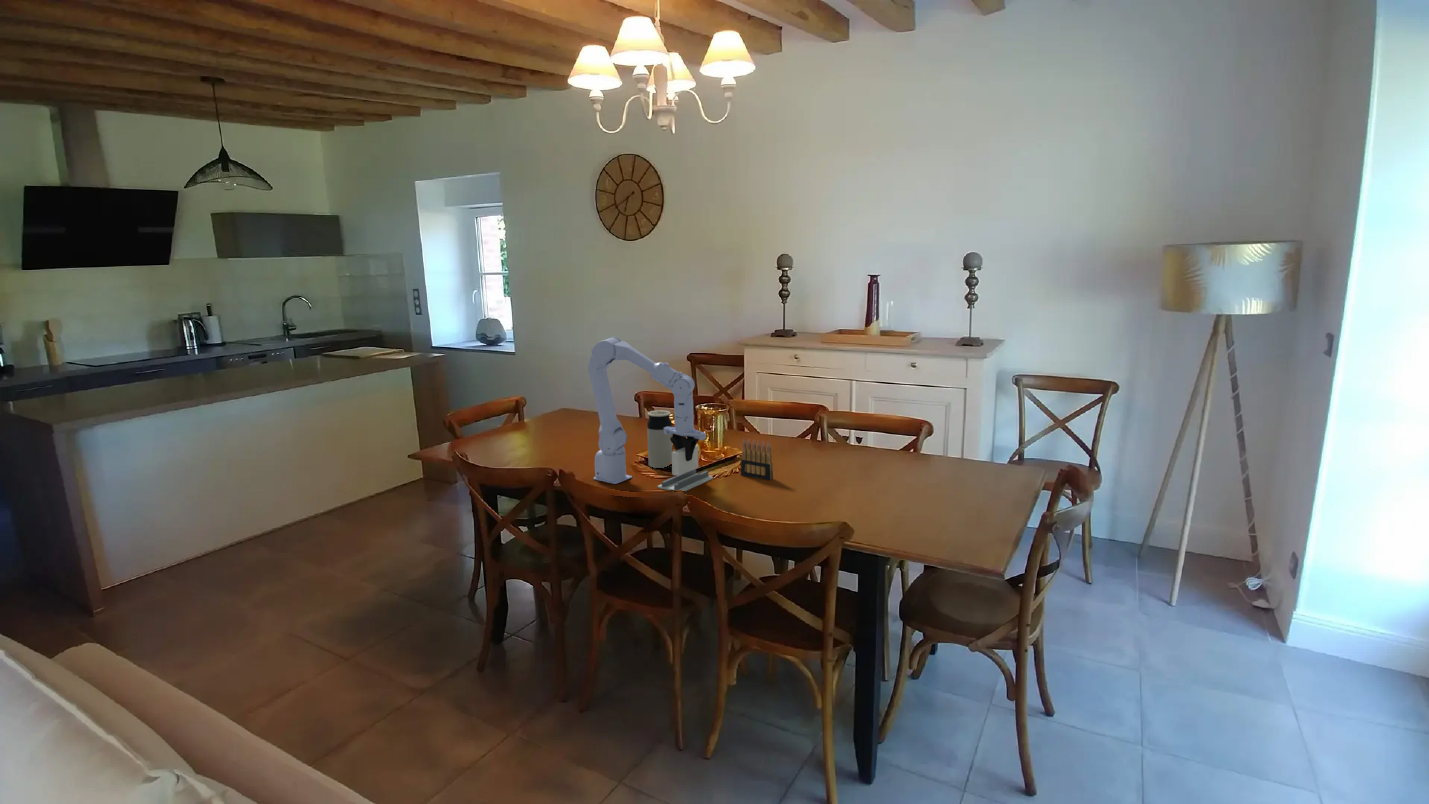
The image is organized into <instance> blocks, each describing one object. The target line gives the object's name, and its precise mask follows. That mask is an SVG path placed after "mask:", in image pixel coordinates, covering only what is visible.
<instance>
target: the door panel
mask: <svg viewBox="0 0 1429 804" xmlns="http://www.w3.org/2000/svg"><path fill="white" fill-rule="evenodd" d="M694 469H696V470H697V469H699V445H697V444H696V446H695V449H694V452H693V456H692V460H690V461H686V457H685V447H684V448H681V449H679V450H673V451H672V466H671V475H672V476H680V475H682V474H684V473H687V472H689V471H691V470H694Z"/></svg>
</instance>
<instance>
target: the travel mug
mask: <svg viewBox="0 0 1429 804" xmlns="http://www.w3.org/2000/svg"><path fill="white" fill-rule="evenodd" d="M671 414H672V413H671V411H669V410H665V409H664V410H661V409H659V410H658V409H657V410H650V411H648V412H647V415H648V420H647V424H646V427H647V453H648V455H647V457H648V466H649V467H650V468H652V467H653V468H652V469H656V468H663V469H665V468H664V467H667V466H669V465H670V463H672V452H673V443H672V442H671V440H670V438H671V437H672V436H673V435H672V434H664V428H665V427H673V426H672V424H673V423H672V419H670V416H671Z"/></svg>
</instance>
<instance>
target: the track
mask: <svg viewBox="0 0 1429 804" xmlns="http://www.w3.org/2000/svg"><path fill="white" fill-rule="evenodd" d="M713 479H714V477H713V476H711V475H709V470H704V471H702V472H699V473H697V468H696V469H694V470H691V471H689V472H687V473H684V474H682V475H680V476H676V475H673V477H670V478H667V479H666V480H663V481H661V484H659V485H658V484H657V489H662V490H664V491H665V490H666V491H670V490H682V491H685V492H686V491H689V490H691V489H693V488H695V487H698V486H700V485H703V484H705V483H706V482H709V481H710V480H713Z"/></svg>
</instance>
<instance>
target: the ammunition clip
mask: <svg viewBox="0 0 1429 804" xmlns="http://www.w3.org/2000/svg"><path fill="white" fill-rule="evenodd" d="M756 443H757V444H756ZM761 445H762V446H761ZM741 449H742V450H741V461H740V476H743V475H744V477H749V478H750V477H751V478H753V479H754V478H755V479H760V480H765V481H772V480H773V478H774V474H773V471H774V470H773V462H772V447H771V443H770V441H768V442H767V445H766V443H765V440H763V441H762V444H761V441H760V440H757V442H756V440H755V439H752V443H751V439H750V438H748V440H746V438H745V437H743V440H742V447H741Z"/></svg>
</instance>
